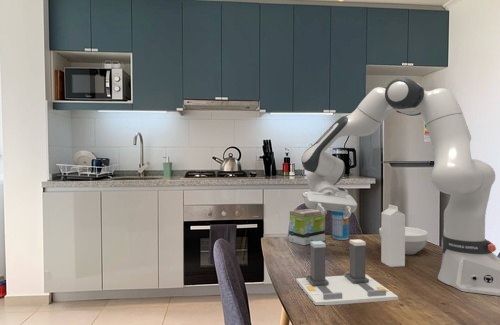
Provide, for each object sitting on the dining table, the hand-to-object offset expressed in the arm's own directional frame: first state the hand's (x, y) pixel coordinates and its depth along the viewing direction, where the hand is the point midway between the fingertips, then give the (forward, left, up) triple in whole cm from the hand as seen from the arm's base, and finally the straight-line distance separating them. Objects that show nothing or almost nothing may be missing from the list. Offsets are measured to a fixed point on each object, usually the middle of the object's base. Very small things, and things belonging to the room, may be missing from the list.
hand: (336, 214), depth 122 cm
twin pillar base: (-8, +21, -19) cm, 30 cm away
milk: (-17, -13, -19) cm, 29 cm away
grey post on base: (-11, +14, -18) cm, 25 cm away
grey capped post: (-1, +22, -18) cm, 28 cm away
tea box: (+23, -29, -19) cm, 41 cm away
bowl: (-18, -34, -19) cm, 43 cm away
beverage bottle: (+11, -43, -19) cm, 48 cm away
